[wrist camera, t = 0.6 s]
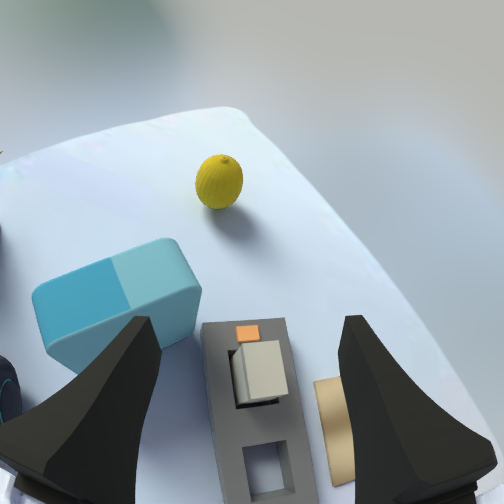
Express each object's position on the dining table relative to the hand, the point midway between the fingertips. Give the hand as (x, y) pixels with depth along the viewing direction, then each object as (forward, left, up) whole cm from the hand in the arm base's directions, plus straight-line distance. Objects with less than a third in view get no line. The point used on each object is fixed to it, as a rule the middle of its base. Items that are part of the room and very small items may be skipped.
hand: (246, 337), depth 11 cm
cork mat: (-6, -16, -20) cm, 26 cm away
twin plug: (+1, -4, -20) cm, 20 cm away
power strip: (-4, -4, -20) cm, 20 cm away
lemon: (+23, -3, -20) cm, 30 cm away
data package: (+6, +7, -20) cm, 22 cm away
